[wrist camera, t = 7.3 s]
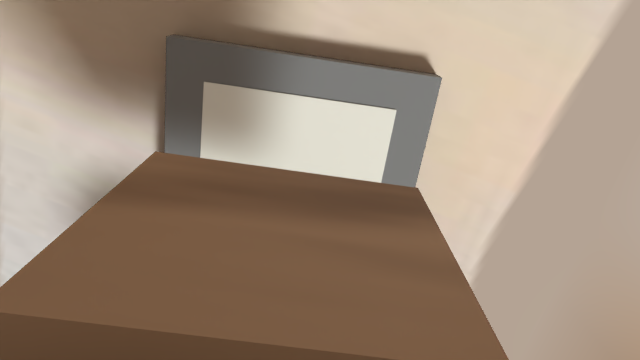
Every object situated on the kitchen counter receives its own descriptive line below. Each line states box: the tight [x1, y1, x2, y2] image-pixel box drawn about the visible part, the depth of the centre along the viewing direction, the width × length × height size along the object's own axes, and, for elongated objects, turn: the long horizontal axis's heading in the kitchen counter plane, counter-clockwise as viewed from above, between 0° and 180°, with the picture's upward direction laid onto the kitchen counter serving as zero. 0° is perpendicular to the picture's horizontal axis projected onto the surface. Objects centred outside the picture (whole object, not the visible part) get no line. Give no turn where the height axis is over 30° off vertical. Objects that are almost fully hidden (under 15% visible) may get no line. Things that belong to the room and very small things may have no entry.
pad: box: [165, 35, 442, 187], centre depth 18 cm, size 10×10×1 cm
